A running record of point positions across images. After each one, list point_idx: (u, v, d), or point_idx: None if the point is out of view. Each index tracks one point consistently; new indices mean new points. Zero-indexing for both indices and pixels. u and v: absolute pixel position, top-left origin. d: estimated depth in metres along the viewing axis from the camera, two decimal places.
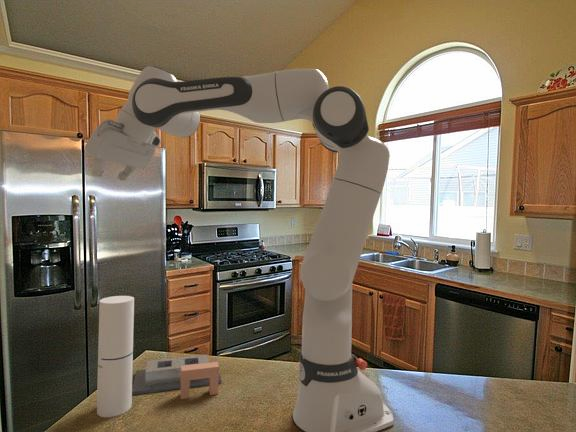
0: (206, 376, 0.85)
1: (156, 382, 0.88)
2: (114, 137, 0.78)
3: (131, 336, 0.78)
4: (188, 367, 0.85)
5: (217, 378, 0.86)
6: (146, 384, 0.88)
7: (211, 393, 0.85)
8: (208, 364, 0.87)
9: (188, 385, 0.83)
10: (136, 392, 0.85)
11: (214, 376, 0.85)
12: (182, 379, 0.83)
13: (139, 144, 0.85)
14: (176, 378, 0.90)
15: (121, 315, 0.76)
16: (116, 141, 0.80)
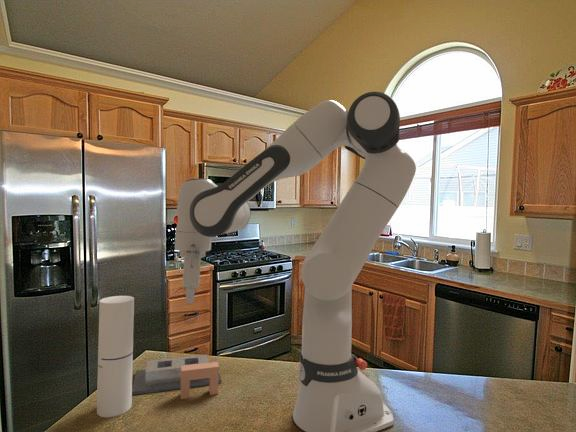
0: (206, 376, 0.85)
1: (156, 382, 0.88)
2: (200, 260, 0.80)
3: (131, 336, 0.78)
4: (188, 367, 0.85)
5: (217, 378, 0.86)
6: (146, 384, 0.88)
7: (211, 393, 0.85)
8: (208, 364, 0.87)
9: (188, 385, 0.83)
10: (136, 392, 0.85)
11: (214, 376, 0.85)
12: (182, 379, 0.83)
13: None
14: (176, 378, 0.90)
15: (122, 315, 0.76)
16: None
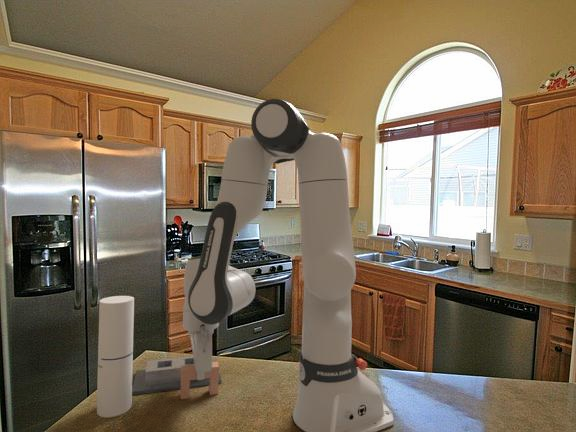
0: (206, 376, 0.85)
1: (156, 382, 0.88)
2: None
3: (131, 336, 0.78)
4: (188, 367, 0.85)
5: (217, 378, 0.86)
6: (146, 384, 0.88)
7: (211, 393, 0.85)
8: None
9: (188, 385, 0.83)
10: (136, 392, 0.85)
11: (214, 376, 0.85)
12: (182, 379, 0.83)
13: None
14: (176, 378, 0.90)
15: (121, 315, 0.76)
16: None
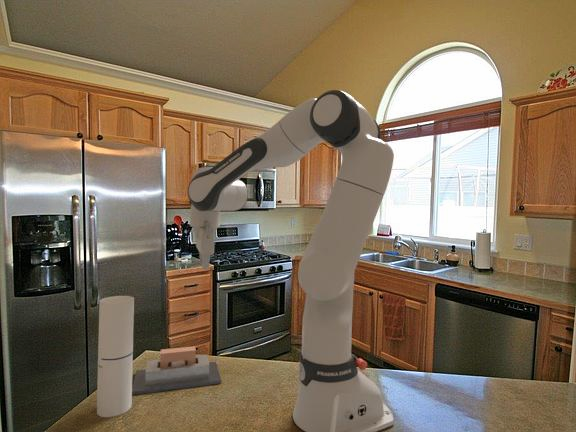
0: (184, 359, 0.92)
1: (156, 382, 0.88)
2: None
3: (131, 336, 0.78)
4: (167, 350, 0.92)
5: (194, 361, 0.93)
6: (146, 384, 0.88)
7: None
8: (186, 348, 0.94)
9: None
10: (136, 392, 0.85)
11: (191, 359, 0.93)
12: (161, 361, 0.90)
13: None
14: (176, 378, 0.90)
15: (121, 315, 0.76)
16: None
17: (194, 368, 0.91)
